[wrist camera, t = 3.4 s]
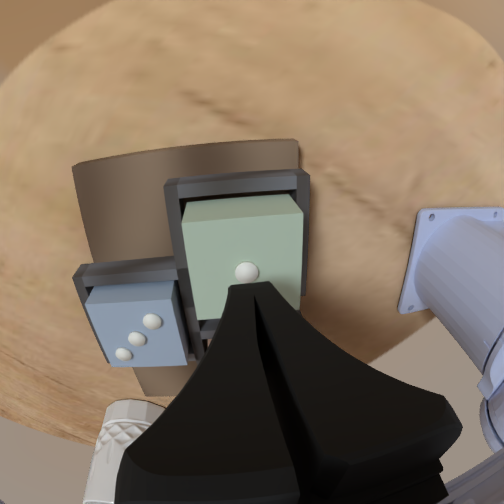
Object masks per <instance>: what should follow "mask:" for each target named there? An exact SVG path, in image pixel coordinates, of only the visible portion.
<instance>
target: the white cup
mask: <svg viewBox="0 0 504 504" xmlns="http://www.w3.org/2000/svg"><path fill="white" fill-rule="evenodd" d="M164 410H165V408H164V407H161V406H158V405H156V404H153V403H150V402H148V401H141V400H134V399H127V400H119V401H115V402H114V403H112V404H111V405H109V406H108V407H107V410H106V414H105V418H104V421H103V425H102V429H101V431H100V433H99V435H98V439H97V442H96V446H95V449H94V452H93V456H92V461H91V465H90V470H89V474H88V479H87V484H86V489H85V493H84V499H83V504H114V498H115V486H116V478H117V473H118V470H119V466H120V462H121V459H122V456H123V453H124V451H125V449H126V448H127V447H128V446H129V445H130V444H131V443H132V442H134V441H135V440H136V439H137V438H138V437H139V436H140V435H141V434H142V433H143V432H144V431H145V430H146V429H147V428H148V427H149V426H151V425H152V424H153V422H154V421H155V420H156V419H157V418H158V417H159V416H160V415H161V414H162V412H163V411H164Z"/></svg>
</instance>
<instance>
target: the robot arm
mask: <svg viewBox="0 0 504 504" xmlns="http://www.w3.org/2000/svg"><path fill="white" fill-rule="evenodd" d="M430 215H431V217H430V218H429V216H430ZM409 306H410V307H409ZM428 308H429V309H430V310H431V311H432V312H433V313H434V314H435V316H436V317H437V318H438V319H439V320H440V321H441V323H442V324H443V325H444V326H445V327H446V329H447V330H448V331H449V332H450V334H451V335H452V336H453V337H454V338H455V340H456V341H457V342H458V343H459V345H460V346H461V347H462V348H463V350H464V351H465V352H466V354H467V355H468V356H469V358H470V359H471V360H472V361H473V363H474V364H475V365H476V367H477V368H478V369H479V370H480V372H481V373H482V375H483V377H482V379H481V381H480V382H479V383H478V385H477V387H478V388H479V390H480V391H481V393H482V394H483V396H484V398H483V400H482V402H481V405H480V422H481V427H482V431H483V435H484V437H485V440H486V442H487V444H488V446H489V447H490V449H491V450H492V451H493V453H494V454H493V455H492V456H490V457H489V458H487V459H486V460H484V461H483V462H481V463H480V464H478V465H477V466H475V467H473V468H472V469H470V470H468V471H467V472H465V473H464V474H462V475H460V476H458V477H456V478H455V479H453V480H451V481H449V482H448V483H446V484H444V483H443V481H442V479H441V477H440V474H439V473H441V472H442V471H443V466H442V464H441V462H440V460H439V458H440V457H441V456H442V455H443V454H444V453H445V452H446V451H447V450H448V449H449V448H450V447H451V446H452V445H453V444H454V442H455V441H456V440H457V439H458V437H459V436H460V434H461V431H462V428H463V427H462V424H461V422H460V420H459V419H458V417H457V415H456V413H455V412H454V410H453V408H452V407H451V405H450V404H449V403H448V401H447V400H446V398H445V397H444V396H442V395H440V394H436V393H433V392H430V391H427V390H424V389H421V388H418V387H415V386H412V385H409V384H407V383H404V382H402V381H399V380H397V379H395V378H393V377H390V376H388V375H386V374H384V373H382V372H380V371H378V370H376V369H374V368H372V367H370V366H369V365H367V364H365V363H363V362H361V361H360V360H358V359H356V358H354V357H353V356H351V355H350V354H348V353H347V352H345V351H344V350H342V349H341V348H339V347H338V346H336V345H335V344H334V343H332V342H331V341H330V340H328V339H327V338H326V337H325V336H323V335H322V334H321V333H320V332H319V331H317V330H316V329H315V328H314V327H313V326H312V325H311V324H309V323H308V322H307V321H306V320H305V319H304V318H303V317H302V316H301V315H300V314H299V313H298V312H297V311H296V310H295V309H294V308H293V307H292V306H291V305H290V304H289V303H288V302H287V301H286V299H285V298H284V297H283V296H282V295H281V294H280V293H279V291H278V290H277V289H276V288H275V287H274V285H273V284H272V283H271V282H270V281H264V282H255V283H245V284H235V285H230V287H229V288H228V294H227V299H226V303H225V307H224V310H223V313H222V316H221V319H220V321H219V324H218V327H217V329H216V331H215V333H214V336H213V338H212V340H211V342H210V344H209V346H208V348H207V350H206V352H205V354H204V356H203V357H202V359H201V361H200V363H199V364H198V366H197V368H196V369H195V371H194V372H193V374H192V375H191V377H190V378H189V380H188V381H187V383H186V384H185V385H184V387H183V388H182V390H181V391H180V392H179V394H178V395H177V396H176V397H175V399H174V400H173V401H172V402H171V403H170V404H169V406H168V407H167V408H166V409H165V410H164V411H163V412H162V414H161V415H160V416H159V417H158V418H157V419H156V420H155V421H154V422H153V424H152V425H151V426H149V427H148V428H147V429H146V430H145V431H144V432H143V433H142V434H141V435H140V436H139V437H138V438H137V439H136V440H135V441H134V442H132V443H131V444H130V445H129V446H128V447H127V448H126V449H125V451H124V453H123V456H122V459H121V462H120V466H119V470H118V473H117V478H116V486H115V498H114V504H504V208H502V207H452V208H424V209H421V210H420V211H419V212H418V215H417V220H416V226H415V232H414V238H413V243H412V248H411V253H410V258H409V263H408V267H407V272H406V276H405V281H404V285H403V289H402V293H401V297H400V301H399V305H398V311H399V313H400V314H407V313H411V312H416V311H420V310H424V309H428ZM0 504H5V503H4V502H3V501H1V500H0Z"/></svg>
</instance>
